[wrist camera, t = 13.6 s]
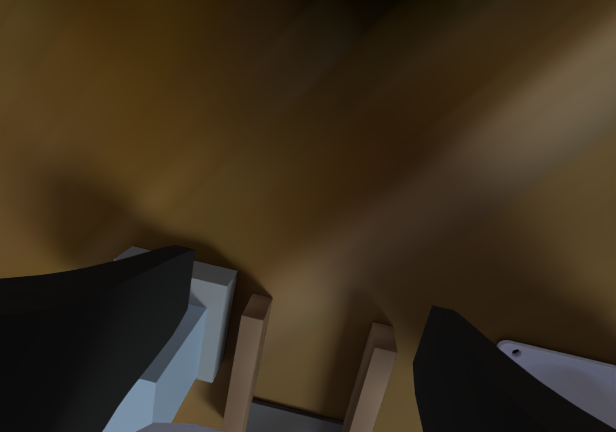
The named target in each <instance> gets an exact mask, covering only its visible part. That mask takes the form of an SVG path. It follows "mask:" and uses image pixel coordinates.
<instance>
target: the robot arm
mask: <svg viewBox="0 0 616 432" xmlns="http://www.w3.org/2000/svg"><path fill="white" fill-rule="evenodd" d="M194 256H195V250H194V249H190V248H186V247H181V246H177V245H173V246H168V247H163V248H159V249H156V250H152V251H149V252H145V253H142V254H138V255H134V256H131V257H127V258H124V259H120V260H116V261H112V262H108V263H104V264H100V265H96V266H91V267H87V268H82V269H77V270H71V271H65V272H59V273H52V274H45V275H35V276H24V277H13V278H2V279H0V432H103V430H104V429H105V427H106V426H107V424H108V422H109V421H110V419H111V418H112V416H113V414H114V413H115V411H116V410H117V408H118V406H119V405H120V404H121V402H122V401H123V399H124V398H125V397H126V395H127V394H128V392H129V391H130V390H131V389H132V387H133V386H134V385H135V383H136V382H137V381H138V380H139V378H140V377H141V376H142V374H143V373H144V372H145V371H146V369H147V368H148V367H149V366H150V364H151V363H152V362H153V360H154V359H155V358H156V357H157V355H158V354H159V353H160V351H161V350H162V349H163V348H164V346H165V345H166V344H167V342H168V341H169V340H170V338H171V337H172V336H173V334H174V333H175V331H176V329H177V327H178V326H179V324H180V322H181V320H182V319H183V317H184V315H185V313H186V311H187V309H188V304H189V296H190V288H191V280H192V272H193V264H194ZM516 349H519V351H518V352H516V353H512V352H513V350H516ZM413 374H414V387H415V396H416V401H417V405H418V410H419V415H420V419H421V424H422V428H423V432H616V365H612V364H607V363H603V362H599V361H595V360H590V359H586V358H582V357H578V356H574V355H569V354H565V353H561V352H557V351H552V350H548V349H544V348H540V347H535V346H531V345H527V344H523V343H518V342H514V341H510V340H503V341H501V342H499V343H498V344H497V346H496V345H494V344H493V343H492V342H491V341H490V340H489V339H488V338H486V337H485V336H484V335H483V334H482V333H481V332H480V331H479V330H477V329H476V328H475V327H474V326H473V325H472V324H471V323H469V322H468V321H467V320H466V319H465V318H463V317H462V316H461V315H460V314H458V313H457V312H455V311H454V310H450V309H446V308H442V307H437V306H433V305H432V308H431V311H430V314H429V317H428V320H427V323H426V326H425V329H424V332H423V335H422V338H421V341H420V344H419V346H418V349H417V352H416V355H415V358H414V361H413ZM136 432H224V431H220V430H216V429H212V428H208V427H205V426H201V425H197V424H184V423H152V424H150V425H148V426H146V427H144V428H142V429H140V430H138V431H136Z"/></svg>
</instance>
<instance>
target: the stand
mask: <svg viewBox="0 0 616 432" xmlns="http://www.w3.org/2000/svg"><path fill="white" fill-rule="evenodd" d="M149 251H151V250H147V249H143V248H138V247H134V246H132V247H130V248H129V249H128V250H126V251H125V252H123V253H122V254H120V255H119V256H117V257H116V258H115V259H113V261H116V260H120V259H124V258H127V257H131V256H134V255H138V254H142V253H145V252H149ZM237 272H238V271H236V270H232V269H228V268H223V267H219V266H215V265H211V264H206V263H202V262H198V261H194V264H193V272H192V280H191V288H190V296H189V304H192V305H196V306H200V307H204V308H207V312H206V319H205V326H204V333H203V340H202V347H201V354H200V361H199V368H198V375H197V377H196V379H198V380H202V381H206V382H210V383H213V381H214V379H215V376H216V374H217V372H218V370H219V368H220V366H221V364H222V362H223V358H224V351H225V345H226V339H227V333H228V327H229V321H230V315H231V309H232V303H233V296H234V290H235V284H236V278H237Z"/></svg>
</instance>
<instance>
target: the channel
mask: <svg viewBox="0 0 616 432" xmlns="http://www.w3.org/2000/svg"><path fill="white" fill-rule="evenodd" d="M271 303H272V298H271V297H266V296H262V295H258V294H254V293H253V294H252V296H251V298H250V300H249V302H248V304H247V306H246V308H245V310H244V312H243V314H242V316H241V321H240V327H239V333H238V339H237V345H236V350H235V356H234V362H233V368H232V373H231V379H230V385H229V391H228V396H227V402H226V408H225V414H224V420H223V425H222V431H224V432H372V430H373V427H374V424H375V421H376V418H377V415H378V412H379V408H380V405H381V402H382V399H383V396H384V393H385V390H386V387H387V384H388V380H389V377H390V374H391V371H392V368H393V365H394V362H395V359H396V356H397V348H396V342H395V336H394V330H393V326H388V325H384V324H380V323H376V322H372V326H371V329H370V333H369V336H368V340H367V343H366V346H365V350H364V353H363V357H362V360H361V364H360V367H359V370H358V374H357V377H356V381H355V384H354V388H353V391H352V395H351V398H350V401H349V405H348V408H347V412H346V415H345V419H344V422H342V421H338V420H334V419H330V418H326V417H322V416H318V415H314V414H310V413H306V412H302V411H298V410H294V409H290V408H286V407H282V406H278V405H274V404H270V403H266V402H262V401H258V400H254V399H253V394H254V389H255V384H256V379H257V374H258V369H259V364H260V359H261V354H262V349H263V344H264V339H265V334H266V328H267V323H268V318H269V313H270V308H271Z"/></svg>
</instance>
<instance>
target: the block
mask: <svg viewBox="0 0 616 432" xmlns="http://www.w3.org/2000/svg"><path fill="white" fill-rule="evenodd" d="M206 312H207V308H204V307H200V306H196V305H192V304H188V309H187V311H186V313H185V315H184V317H183V319H182V320H181V322H180V324H179V326H178V327H177V329H176V331H175V333H174V334H173V336H172V337H171V338H170V340H169V341H168V342H167V344H166V345H165V346H164V348H163V349H162V350H161V351H160V353H159V354H158V355H157V357H156V358H155V359H154V360H153V362H152V363H151V364H150V366H149V367H148V368H147V369H146V371H145V372H144V373H143V374H142V376H141V377H140V378H139V380H138V381H137V382H136V383H135V385H134V386H133V387H132V389H131V390H130V391H129V392H128V394H127V395H126V397H125V398H124V399H123V401H122V402H121V404H120V405H119V406H118V408H117V410H116V411H115V413H114V414H113V416H112V418H111V419H110V421H109V422H108V424H107V426H106V427H105V429H104V430H103V432H136V431H138V430H140V429H142V428H144V427H146V426H148V425H150V424H152V423H171V422H172V420H173V418H174V416H175V415H176V413H177V411H178V409H179V407H180V406H181V404H182V402H183V400H184V398H185V397H186V395H187V393H188V391H189V389H190V388H191V386H192V384H193V382H194V380H195V379H196V377H197V375H198V368H199V361H200V354H201V347H202V340H203V333H204V326H205V319H206Z"/></svg>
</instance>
